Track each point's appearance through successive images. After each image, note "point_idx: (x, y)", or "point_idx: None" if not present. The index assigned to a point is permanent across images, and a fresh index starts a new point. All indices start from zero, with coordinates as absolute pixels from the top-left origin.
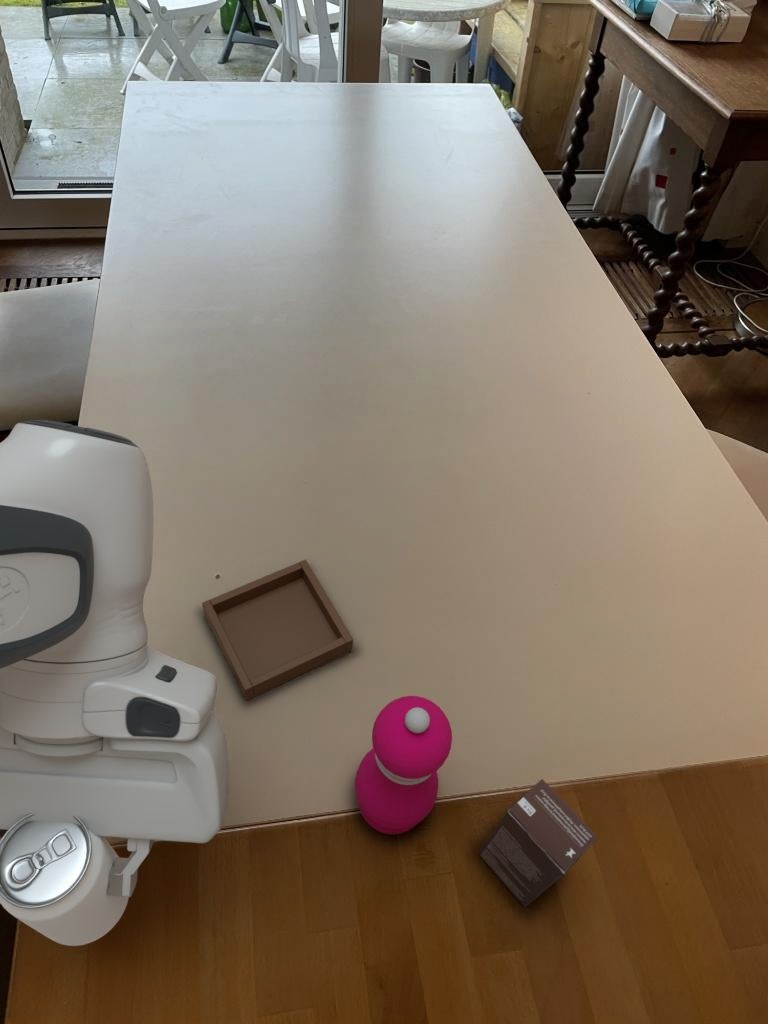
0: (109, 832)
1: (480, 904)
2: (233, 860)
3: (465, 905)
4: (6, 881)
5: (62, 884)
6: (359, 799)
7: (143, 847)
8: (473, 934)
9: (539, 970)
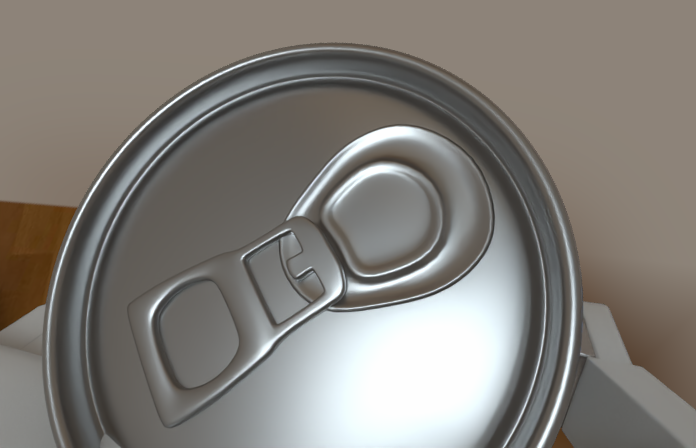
0: (29, 374)
1: (25, 299)
2: None
3: (37, 300)
4: (465, 170)
5: (206, 153)
6: None
7: (37, 322)
8: (43, 272)
9: (7, 236)
